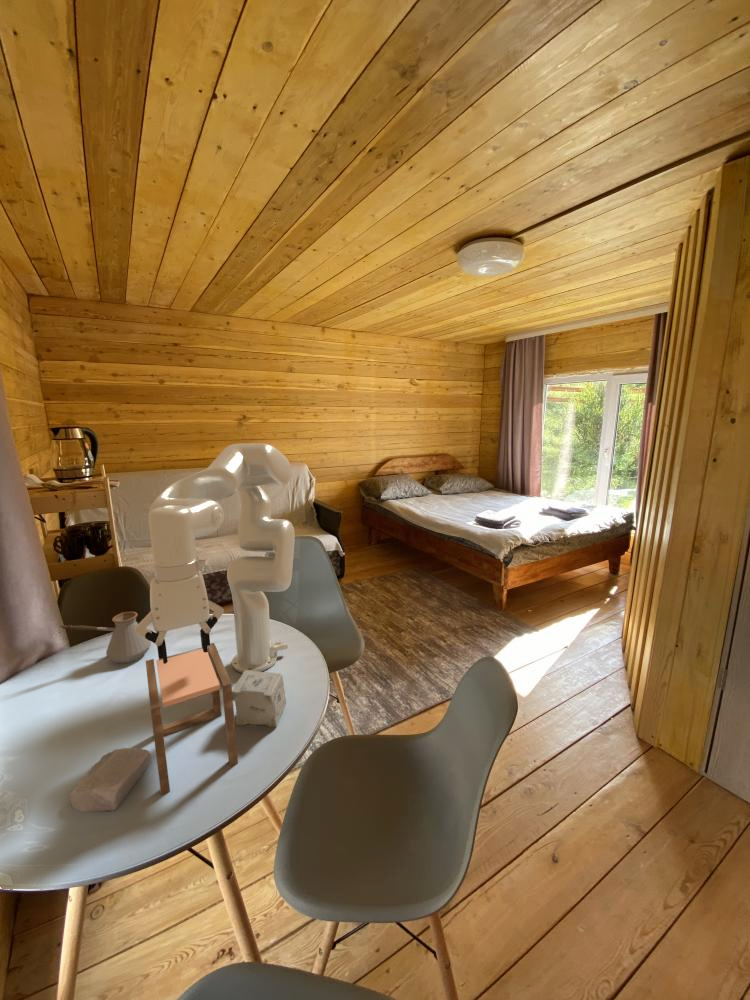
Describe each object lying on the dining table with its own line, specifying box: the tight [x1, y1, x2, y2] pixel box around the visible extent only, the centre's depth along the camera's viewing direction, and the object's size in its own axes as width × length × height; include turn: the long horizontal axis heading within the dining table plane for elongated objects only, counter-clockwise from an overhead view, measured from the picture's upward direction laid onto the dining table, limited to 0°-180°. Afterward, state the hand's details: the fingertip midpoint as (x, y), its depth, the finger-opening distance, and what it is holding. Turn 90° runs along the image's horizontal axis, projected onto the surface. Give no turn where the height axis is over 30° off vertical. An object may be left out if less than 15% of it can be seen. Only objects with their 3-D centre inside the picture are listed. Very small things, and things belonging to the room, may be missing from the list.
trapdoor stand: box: [145, 642, 239, 796], centre depth 86 cm, size 14×18×18 cm
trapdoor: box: [156, 647, 221, 708], centre depth 86 cm, size 10×18×3 cm, turn 31°
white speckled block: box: [232, 670, 287, 728], centre depth 96 cm, size 10×8×10 cm
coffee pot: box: [58, 611, 152, 664], centre depth 119 cm, size 21×12×15 cm, turn 130°
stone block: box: [69, 747, 152, 813], centre depth 79 cm, size 12×5×10 cm
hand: (185, 654), depth 83 cm, fingers open, 6 cm apart
